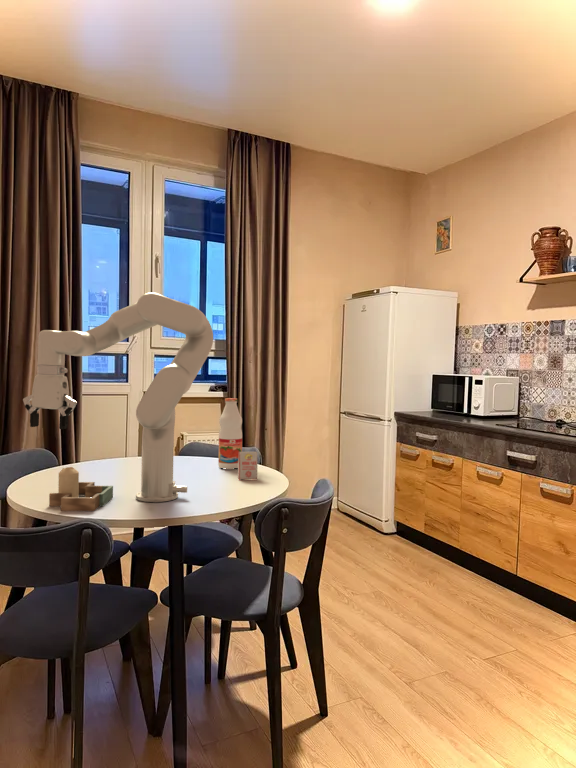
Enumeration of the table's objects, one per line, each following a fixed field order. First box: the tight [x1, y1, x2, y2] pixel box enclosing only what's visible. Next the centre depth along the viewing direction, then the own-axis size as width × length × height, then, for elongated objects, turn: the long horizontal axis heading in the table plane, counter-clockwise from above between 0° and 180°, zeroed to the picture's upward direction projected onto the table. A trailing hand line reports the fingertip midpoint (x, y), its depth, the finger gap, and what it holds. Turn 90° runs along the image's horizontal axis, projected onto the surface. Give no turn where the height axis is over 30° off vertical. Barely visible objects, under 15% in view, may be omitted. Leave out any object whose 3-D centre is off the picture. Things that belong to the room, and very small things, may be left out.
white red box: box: [237, 451, 258, 480], centre depth 197 cm, size 4×7×10 cm, turn 100°
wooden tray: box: [48, 481, 114, 512], centre depth 160 cm, size 16×21×4 cm
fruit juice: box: [217, 397, 243, 470], centre depth 218 cm, size 9×9×28 cm
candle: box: [57, 466, 80, 497], centre depth 160 cm, size 6×6×10 cm
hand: (48, 427), depth 164 cm, fingers open, 9 cm apart
